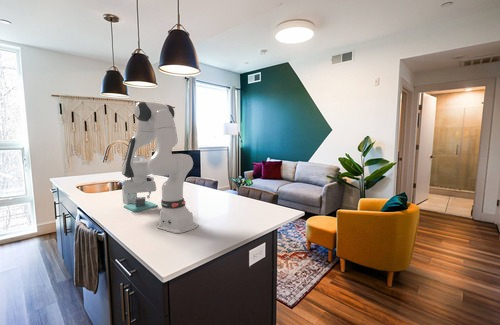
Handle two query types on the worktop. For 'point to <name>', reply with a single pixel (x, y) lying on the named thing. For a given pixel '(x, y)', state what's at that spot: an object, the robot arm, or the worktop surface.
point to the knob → (140, 201)
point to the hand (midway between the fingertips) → (140, 198)
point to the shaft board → (135, 209)
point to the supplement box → (128, 197)
